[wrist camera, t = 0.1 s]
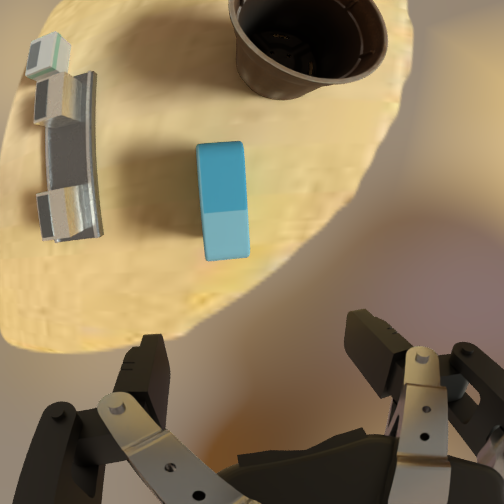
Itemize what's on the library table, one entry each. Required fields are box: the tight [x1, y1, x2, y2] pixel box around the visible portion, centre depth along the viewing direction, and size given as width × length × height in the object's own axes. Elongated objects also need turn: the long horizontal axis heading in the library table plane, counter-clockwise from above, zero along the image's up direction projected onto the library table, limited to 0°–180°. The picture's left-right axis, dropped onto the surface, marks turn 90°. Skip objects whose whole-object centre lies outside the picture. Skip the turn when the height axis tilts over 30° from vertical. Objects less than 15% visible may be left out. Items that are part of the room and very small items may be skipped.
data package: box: [196, 141, 250, 261], centre depth 33 cm, size 12×4×12 cm, turn 3°
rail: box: [34, 71, 104, 243], centre depth 30 cm, size 24×8×8 cm, turn 3°
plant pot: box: [229, 0, 388, 100], centre depth 27 cm, size 16×16×16 cm
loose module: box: [25, 31, 71, 81], centre depth 25 cm, size 6×5×6 cm
